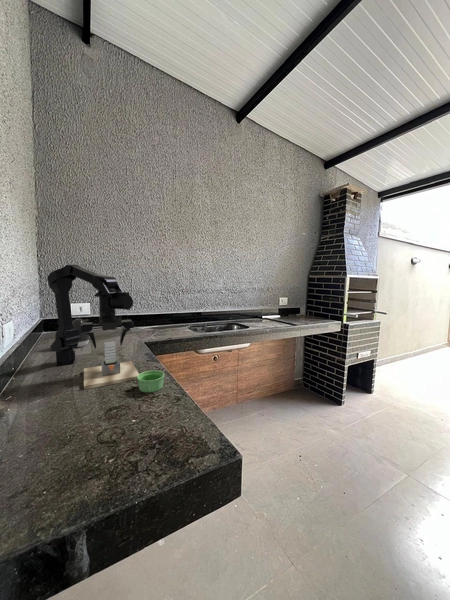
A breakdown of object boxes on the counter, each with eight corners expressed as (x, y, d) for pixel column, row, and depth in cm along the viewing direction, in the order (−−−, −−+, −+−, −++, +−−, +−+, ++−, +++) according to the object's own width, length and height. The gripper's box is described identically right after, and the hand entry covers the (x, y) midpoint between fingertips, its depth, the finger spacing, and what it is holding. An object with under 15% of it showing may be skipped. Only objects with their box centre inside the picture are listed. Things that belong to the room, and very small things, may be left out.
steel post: (105, 363, 89) (104, 344, 89) (104, 360, 93) (104, 342, 92) (116, 362, 91) (115, 343, 91) (115, 359, 95) (114, 341, 94)
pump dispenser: (94, 345, 132) (93, 318, 131) (74, 349, 124) (72, 321, 122) (84, 342, 138) (83, 316, 136) (64, 346, 129) (63, 319, 128)
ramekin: (131, 390, 80) (131, 378, 80) (149, 380, 88) (149, 368, 88) (153, 395, 77) (153, 382, 76) (169, 384, 85) (169, 372, 85)
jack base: (84, 389, 80) (83, 375, 80) (84, 371, 96) (83, 359, 95) (139, 378, 89) (139, 365, 89) (131, 363, 105) (131, 352, 104)
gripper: (79, 312, 83) (81, 355, 85) (135, 309, 93) (136, 348, 94) (80, 308, 93) (81, 347, 94) (131, 306, 102) (131, 342, 104)
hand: (108, 346), depth 96 cm, fingers open, 9 cm apart
